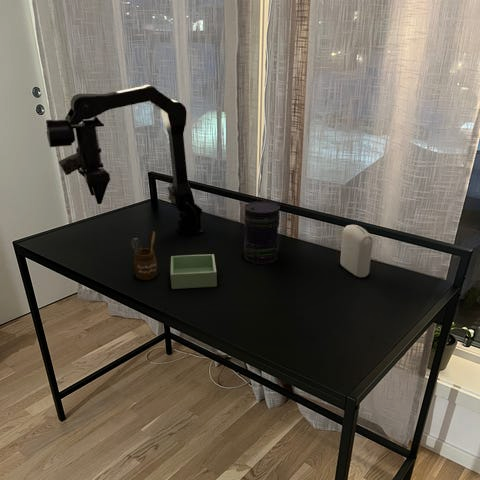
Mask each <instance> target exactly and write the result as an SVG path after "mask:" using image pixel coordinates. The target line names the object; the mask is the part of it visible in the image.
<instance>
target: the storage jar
mask: <svg viewBox="0 0 480 480" xmlns="http://www.w3.org/2000/svg"><path fill="white" fill-rule="evenodd" d="M243 221H244V222H243V225H244V226H243V227H244V229H245V232H244V233H245V234H244V235H245V237H244V239H243V240H244V241H243V242H244V245H243V249H244V259H245V260H246V261H247V262H249V263H253V264H260V265H261V264H270V263H273V262H276V261H277V260H278V257H279V254H278V253H279V242H280V240H279V236H278V234H279V227H280V204H278V203H275V202H272V201H266V200H265V201H264V200H263V201H262V200H260V201H259V200H257V201H252V202H248V203H246V204H245V205H244V215H243Z"/></svg>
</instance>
